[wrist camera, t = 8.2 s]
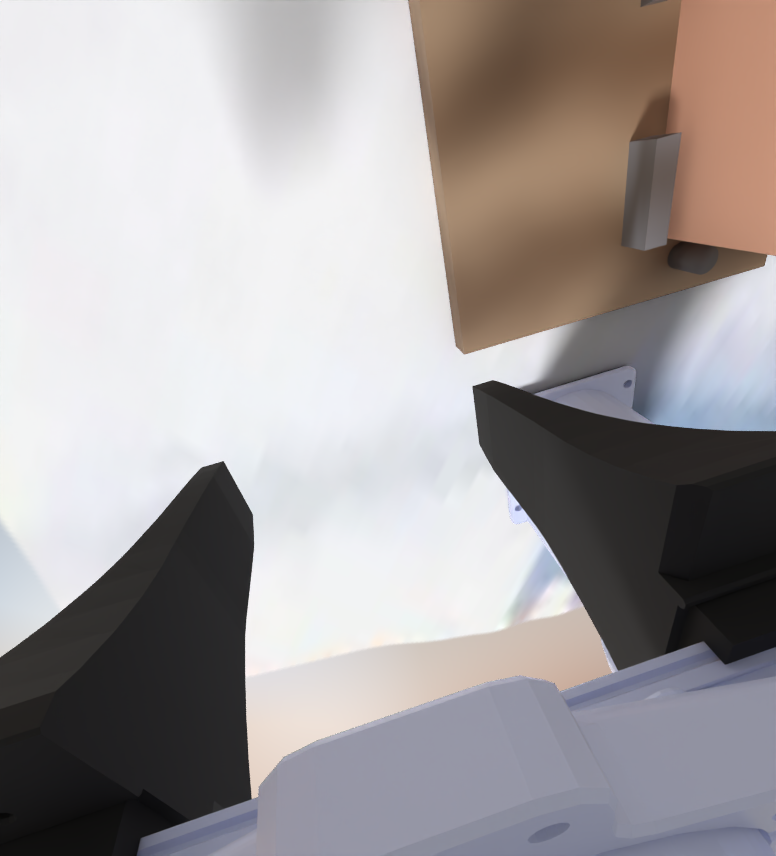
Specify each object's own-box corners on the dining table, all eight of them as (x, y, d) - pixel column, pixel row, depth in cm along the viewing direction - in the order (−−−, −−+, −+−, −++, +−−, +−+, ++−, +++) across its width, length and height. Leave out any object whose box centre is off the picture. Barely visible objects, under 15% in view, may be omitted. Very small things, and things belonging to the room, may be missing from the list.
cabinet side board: (742, 261, 22) (794, 271, 20) (456, 345, 21) (476, 366, 19) (888, -361, 12) (1022, -481, 10) (373, -257, 12) (394, -363, 9)
